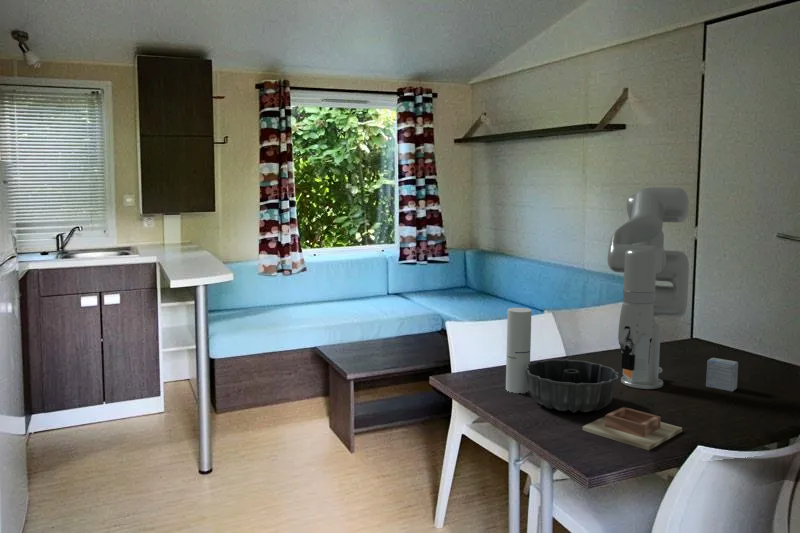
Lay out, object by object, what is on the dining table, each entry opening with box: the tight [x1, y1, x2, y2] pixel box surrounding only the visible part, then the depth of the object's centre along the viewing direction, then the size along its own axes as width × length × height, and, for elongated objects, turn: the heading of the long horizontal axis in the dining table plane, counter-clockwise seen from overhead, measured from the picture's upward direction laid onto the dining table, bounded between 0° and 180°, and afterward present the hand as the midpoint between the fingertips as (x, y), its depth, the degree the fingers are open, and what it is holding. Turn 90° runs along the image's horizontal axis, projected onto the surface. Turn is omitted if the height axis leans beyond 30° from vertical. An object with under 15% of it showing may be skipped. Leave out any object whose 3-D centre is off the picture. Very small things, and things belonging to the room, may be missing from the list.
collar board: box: [582, 406, 683, 451], centre depth 176 cm, size 18×18×4 cm
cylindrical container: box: [505, 307, 533, 394], centre depth 208 cm, size 7×7×25 cm
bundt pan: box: [524, 358, 620, 414], centre depth 197 cm, size 26×26×10 cm
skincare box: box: [622, 334, 650, 382], centre depth 173 cm, size 6×4×12 cm
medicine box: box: [705, 357, 739, 392], centre depth 211 cm, size 8×4×9 cm, turn 47°
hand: (635, 365), depth 174 cm, fingers closed on skincare box, 6 cm apart
